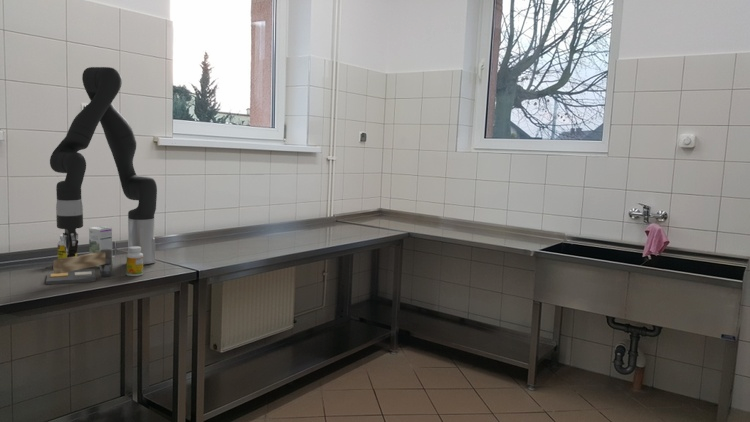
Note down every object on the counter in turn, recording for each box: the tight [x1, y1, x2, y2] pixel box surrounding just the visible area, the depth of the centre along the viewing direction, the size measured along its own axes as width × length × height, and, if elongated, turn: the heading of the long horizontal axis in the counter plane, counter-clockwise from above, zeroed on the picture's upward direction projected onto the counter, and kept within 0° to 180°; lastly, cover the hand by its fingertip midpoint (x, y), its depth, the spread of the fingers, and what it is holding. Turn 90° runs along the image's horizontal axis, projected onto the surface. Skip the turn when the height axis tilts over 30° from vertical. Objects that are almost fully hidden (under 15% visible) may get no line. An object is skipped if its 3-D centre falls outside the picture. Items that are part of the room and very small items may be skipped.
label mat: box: [45, 268, 96, 285], centre depth 182 cm, size 14×14×1 cm
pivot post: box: [99, 264, 114, 278], centre depth 187 cm, size 4×4×4 cm
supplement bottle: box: [126, 246, 144, 277], centre depth 190 cm, size 5×5×10 cm
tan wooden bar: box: [52, 249, 113, 274], centre depth 179 cm, size 21×4×5 cm, turn 157°
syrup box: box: [88, 225, 114, 269], centre depth 201 cm, size 6×6×14 cm
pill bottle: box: [57, 234, 78, 259], centre depth 201 cm, size 6×6×11 cm
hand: (71, 265), depth 179 cm, fingers closed
